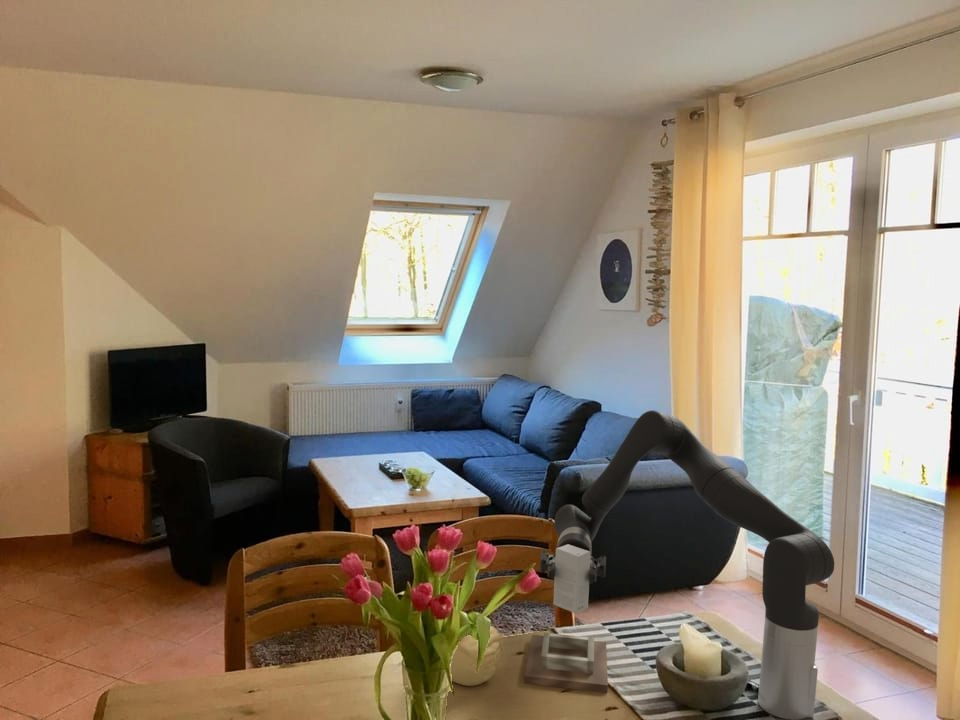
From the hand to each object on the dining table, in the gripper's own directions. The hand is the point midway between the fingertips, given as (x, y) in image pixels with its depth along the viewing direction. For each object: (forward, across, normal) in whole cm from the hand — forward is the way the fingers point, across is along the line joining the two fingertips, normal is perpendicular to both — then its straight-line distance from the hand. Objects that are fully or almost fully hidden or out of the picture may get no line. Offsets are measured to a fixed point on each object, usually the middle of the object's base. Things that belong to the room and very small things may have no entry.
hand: (571, 577), depth 156 cm
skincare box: (-2, 0, +7) cm, 8 cm away
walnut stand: (-2, 0, +20) cm, 20 cm away
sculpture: (+7, -19, +20) cm, 28 cm away
